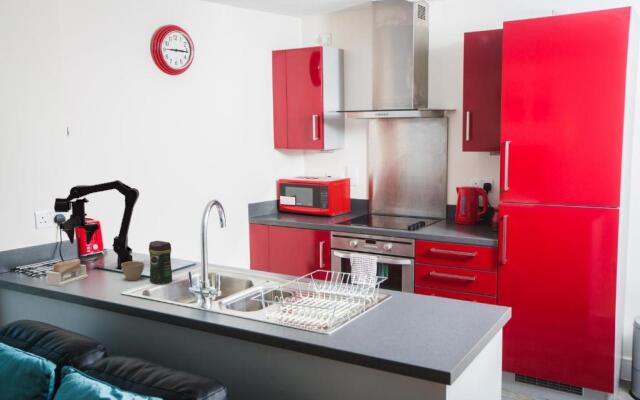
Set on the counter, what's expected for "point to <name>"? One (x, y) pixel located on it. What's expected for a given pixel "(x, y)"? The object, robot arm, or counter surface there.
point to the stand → (66, 277)
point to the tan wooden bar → (67, 266)
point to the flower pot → (132, 269)
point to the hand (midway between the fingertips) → (80, 244)
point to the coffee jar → (160, 262)
